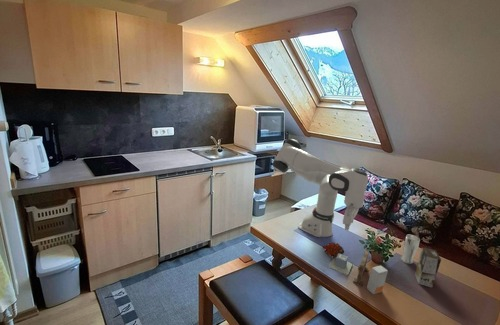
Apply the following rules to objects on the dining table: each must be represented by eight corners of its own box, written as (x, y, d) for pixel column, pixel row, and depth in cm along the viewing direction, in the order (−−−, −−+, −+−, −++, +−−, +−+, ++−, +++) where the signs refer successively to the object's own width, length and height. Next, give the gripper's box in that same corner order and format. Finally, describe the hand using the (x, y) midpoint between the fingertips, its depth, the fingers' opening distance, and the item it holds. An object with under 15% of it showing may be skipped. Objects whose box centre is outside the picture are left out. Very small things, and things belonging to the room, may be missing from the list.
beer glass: (415, 265, 148) (422, 241, 144) (402, 263, 149) (408, 239, 145) (411, 258, 154) (417, 235, 150) (398, 255, 156) (404, 233, 151)
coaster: (328, 267, 140) (328, 266, 140) (333, 258, 148) (333, 257, 148) (347, 275, 135) (348, 274, 135) (352, 265, 143) (352, 264, 143)
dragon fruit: (344, 263, 144) (322, 260, 151) (347, 250, 150) (326, 248, 157) (341, 252, 141) (319, 250, 147) (344, 240, 147) (323, 238, 153)
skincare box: (373, 295, 123) (378, 273, 120) (366, 288, 127) (371, 267, 124) (382, 292, 126) (388, 270, 122) (375, 285, 129) (380, 264, 126)
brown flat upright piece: (362, 286, 128) (366, 267, 125) (353, 282, 130) (357, 263, 127) (367, 269, 141) (372, 251, 138) (359, 265, 143) (363, 248, 140)
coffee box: (432, 288, 131) (441, 260, 127) (418, 284, 133) (426, 256, 129) (428, 276, 139) (436, 249, 135) (414, 273, 141) (421, 246, 137)
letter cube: (344, 269, 138) (346, 260, 137) (334, 265, 141) (336, 257, 139) (346, 264, 142) (348, 256, 141) (337, 260, 145) (338, 252, 143)
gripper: (356, 209, 121) (350, 236, 125) (364, 196, 138) (359, 220, 142) (342, 205, 124) (337, 232, 128) (351, 193, 141) (347, 216, 145)
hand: (348, 225), depth 135 cm, fingers open, 8 cm apart
